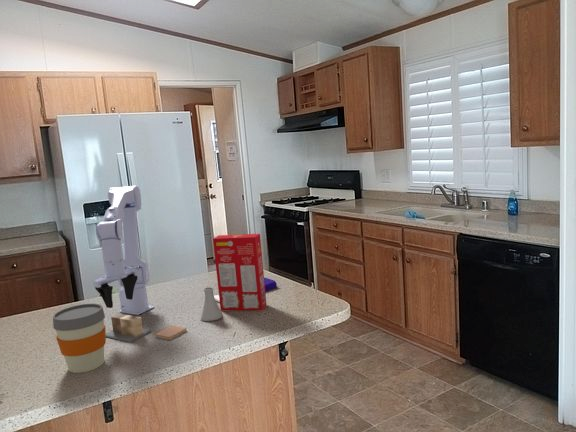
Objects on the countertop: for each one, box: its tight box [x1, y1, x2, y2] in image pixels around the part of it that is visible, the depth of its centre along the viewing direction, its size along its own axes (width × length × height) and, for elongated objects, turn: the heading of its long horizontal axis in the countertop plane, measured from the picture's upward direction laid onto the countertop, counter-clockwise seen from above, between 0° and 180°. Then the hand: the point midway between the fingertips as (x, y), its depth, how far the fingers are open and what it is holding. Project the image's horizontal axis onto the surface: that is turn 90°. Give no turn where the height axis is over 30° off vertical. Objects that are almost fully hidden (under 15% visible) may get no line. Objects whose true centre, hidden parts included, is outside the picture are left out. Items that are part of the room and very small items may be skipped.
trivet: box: [106, 328, 152, 343], centre depth 144 cm, size 12×8×1 cm, turn 60°
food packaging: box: [212, 233, 267, 312], centre depth 158 cm, size 15×5×25 cm, turn 78°
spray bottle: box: [213, 277, 278, 303], centre depth 176 cm, size 3×11×24 cm
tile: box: [154, 325, 187, 341], centre depth 142 cm, size 2×7×6 cm
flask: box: [200, 286, 223, 322], centre depth 152 cm, size 7×7×10 cm
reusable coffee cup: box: [52, 303, 107, 374], centre depth 124 cm, size 13×13×15 cm
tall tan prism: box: [110, 313, 144, 337], centre depth 144 cm, size 10×3×5 cm, turn 60°
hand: (119, 303), depth 144 cm, fingers open, 7 cm apart
